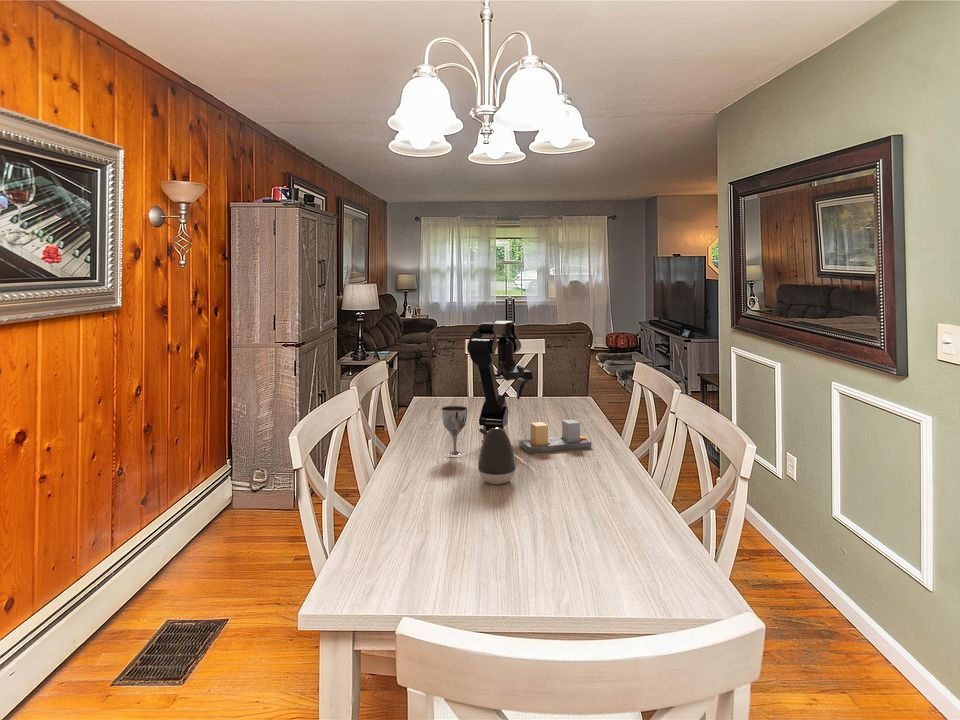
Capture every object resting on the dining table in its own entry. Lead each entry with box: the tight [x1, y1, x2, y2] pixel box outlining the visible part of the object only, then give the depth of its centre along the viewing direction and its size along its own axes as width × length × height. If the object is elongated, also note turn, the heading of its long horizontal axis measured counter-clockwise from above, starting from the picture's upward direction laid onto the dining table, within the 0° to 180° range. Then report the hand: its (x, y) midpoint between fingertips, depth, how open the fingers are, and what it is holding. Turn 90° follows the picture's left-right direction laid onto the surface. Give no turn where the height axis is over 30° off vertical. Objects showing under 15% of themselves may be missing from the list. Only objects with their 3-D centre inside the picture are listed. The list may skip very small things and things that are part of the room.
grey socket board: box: [518, 435, 592, 455], centre depth 214 cm, size 21×10×4 cm, turn 106°
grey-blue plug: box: [561, 419, 581, 443], centre depth 215 cm, size 4×5×8 cm
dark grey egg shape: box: [477, 427, 516, 485], centre depth 182 cm, size 10×10×15 cm
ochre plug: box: [529, 421, 549, 446], centre depth 212 cm, size 4×5×8 cm
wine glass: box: [441, 405, 468, 455], centre depth 209 cm, size 8×8×15 cm
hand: (505, 400), depth 235 cm, fingers open, 9 cm apart
